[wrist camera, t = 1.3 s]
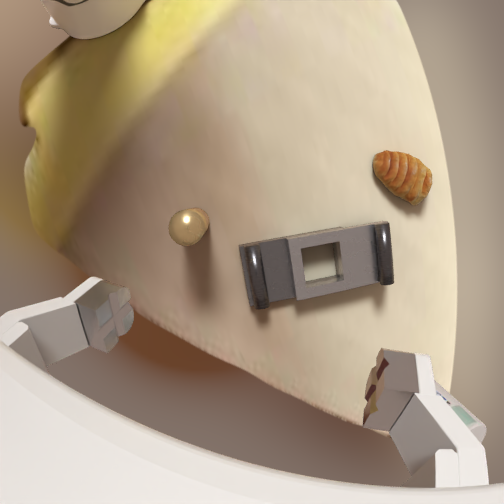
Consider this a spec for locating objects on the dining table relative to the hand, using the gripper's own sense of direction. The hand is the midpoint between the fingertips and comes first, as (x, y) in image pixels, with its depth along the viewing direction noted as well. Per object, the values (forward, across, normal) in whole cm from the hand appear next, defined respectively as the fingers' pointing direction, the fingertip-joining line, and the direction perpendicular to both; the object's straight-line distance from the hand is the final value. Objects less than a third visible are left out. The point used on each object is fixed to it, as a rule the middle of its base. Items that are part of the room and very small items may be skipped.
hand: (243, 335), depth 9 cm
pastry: (+41, -11, +2) cm, 43 cm away
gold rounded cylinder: (+28, +15, +9) cm, 33 cm away
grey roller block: (+32, 0, +14) cm, 35 cm away
